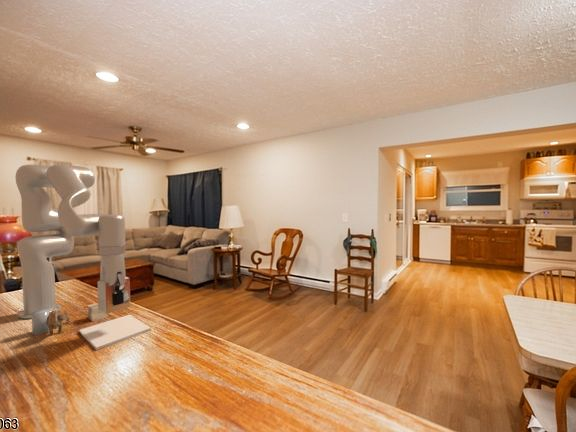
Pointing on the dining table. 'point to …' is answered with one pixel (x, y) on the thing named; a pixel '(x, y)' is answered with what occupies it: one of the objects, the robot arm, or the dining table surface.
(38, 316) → the light grey domed piece
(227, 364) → the dining table surface
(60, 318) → the lion figurine
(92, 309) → the birch block
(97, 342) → the mat
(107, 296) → the small box
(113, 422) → the dining table surface
